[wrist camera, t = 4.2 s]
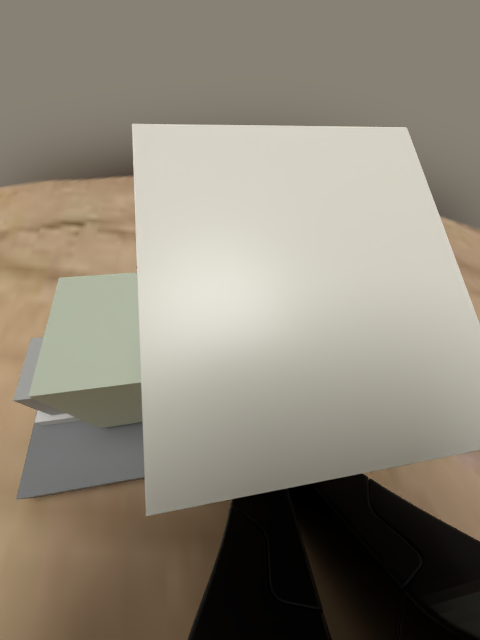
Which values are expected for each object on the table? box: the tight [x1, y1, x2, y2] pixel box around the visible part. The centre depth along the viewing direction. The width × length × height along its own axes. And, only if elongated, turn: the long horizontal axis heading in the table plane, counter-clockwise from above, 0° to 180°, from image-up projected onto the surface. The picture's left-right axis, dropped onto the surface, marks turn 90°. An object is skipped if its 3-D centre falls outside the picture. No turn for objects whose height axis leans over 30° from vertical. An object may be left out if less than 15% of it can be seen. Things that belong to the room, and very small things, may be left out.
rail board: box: [13, 273, 145, 499], centre depth 14 cm, size 9×22×8 cm, turn 99°
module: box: [132, 124, 480, 516], centre depth 9 cm, size 5×4×12 cm
